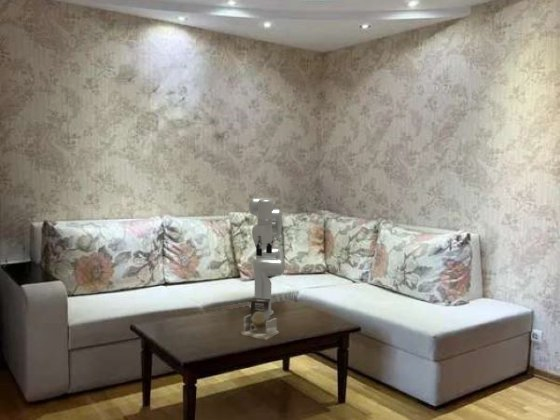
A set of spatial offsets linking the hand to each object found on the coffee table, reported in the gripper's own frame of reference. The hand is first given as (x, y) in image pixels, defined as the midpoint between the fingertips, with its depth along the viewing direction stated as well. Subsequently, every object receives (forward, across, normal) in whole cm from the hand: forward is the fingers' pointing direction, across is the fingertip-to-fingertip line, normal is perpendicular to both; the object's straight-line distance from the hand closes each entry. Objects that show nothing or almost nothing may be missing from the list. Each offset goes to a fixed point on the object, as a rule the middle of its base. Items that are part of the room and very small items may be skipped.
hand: (264, 254), depth 270 cm
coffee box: (+35, +18, +10) cm, 41 cm away
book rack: (+36, +18, +10) cm, 42 cm away
